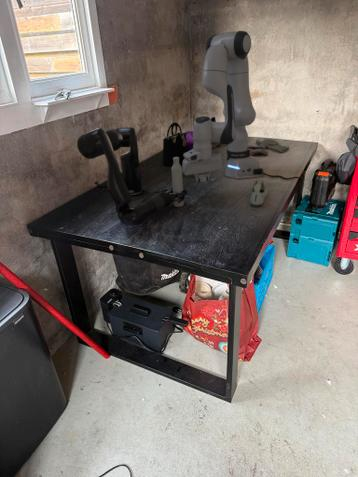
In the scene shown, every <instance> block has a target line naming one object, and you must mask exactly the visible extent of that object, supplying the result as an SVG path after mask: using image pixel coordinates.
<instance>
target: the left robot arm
mask: <svg viewBox="0 0 358 477" xmlns="http://www.w3.org/2000/svg"><path fill="white" fill-rule="evenodd" d="M76 148H77V150H78V152H79V153H80V155H81V156H82V157H84V159H88V160H92V159H96V158H98V157H101V156H103V155H104V156H105V158H106V162H107V179H106V181H107V182H106V183H107V184H104V185H103V184H100V183H99V182H98V181H95V182H94V184H95V185H98V187H101V188H106V187H107V190H108V192H109V195H110V196H111V198H112V200H113V202H114V205H115V209H116V214H117V217H118V218H117V219H118V220H119V221H120V223H121V224H122V225H124V226H127V227H128V226H140V225H142V224H143V223H144V222H146V221H147V220H148V219H149V217H151V216H154V215H155V214H158V213H160V212H162V211H163V210H166V209H167V208H169V207H170V206H171V204H172V203H174V202H175V201H178V203H181V202H182V201H183V200H184V201H185V199H186V195H187V194H188V191H187V189H183V191H181V192H178V193H177V192H175V193H173V188H164V189H162V190H159V191H157V192H156V193H155V194H153V195H151V196H150V197H148V198H147V199H145V200H143V201H140V203H139V204H137V206H136V207H131V208H130V203H131V202H132V199H133V198H132V196H138V195H140V194H142V193H143V192H144V190H143V184H142V183H143V182H142V175H141V166H140V157H139V147H138V134H137V129H136V128H135V127H133V126H132V127H130V126H129V127H127V126H126V127H117V128H115V129H113V128H109V129H103V128H102V127H97V128H94V129H92V130H90V131H88V132H85V133H82V134H81V135H80V136H78V138H77V140H76ZM121 148H129V150H128V151H126V152H124V153H122V154H121V155H120V156H119V160H120V166H119V162H118V159H117V157H116V151H119V150H120V149H121ZM120 167H121V168H120ZM179 194H180V196H179Z"/></svg>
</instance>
